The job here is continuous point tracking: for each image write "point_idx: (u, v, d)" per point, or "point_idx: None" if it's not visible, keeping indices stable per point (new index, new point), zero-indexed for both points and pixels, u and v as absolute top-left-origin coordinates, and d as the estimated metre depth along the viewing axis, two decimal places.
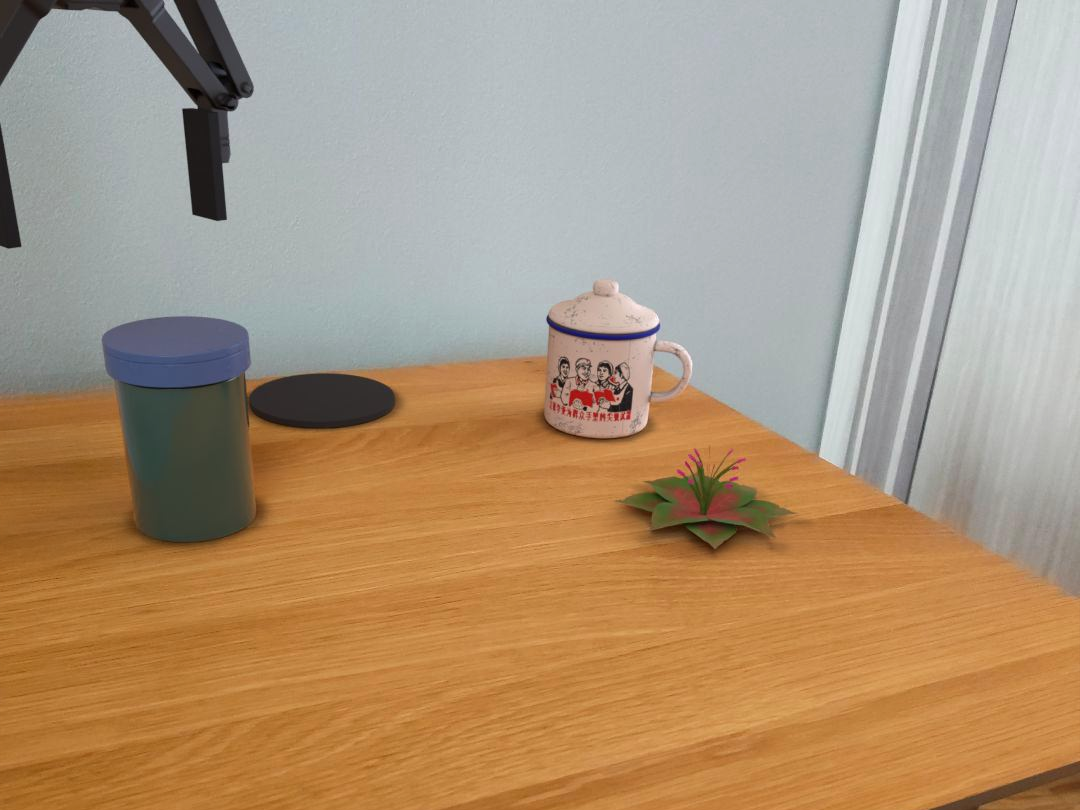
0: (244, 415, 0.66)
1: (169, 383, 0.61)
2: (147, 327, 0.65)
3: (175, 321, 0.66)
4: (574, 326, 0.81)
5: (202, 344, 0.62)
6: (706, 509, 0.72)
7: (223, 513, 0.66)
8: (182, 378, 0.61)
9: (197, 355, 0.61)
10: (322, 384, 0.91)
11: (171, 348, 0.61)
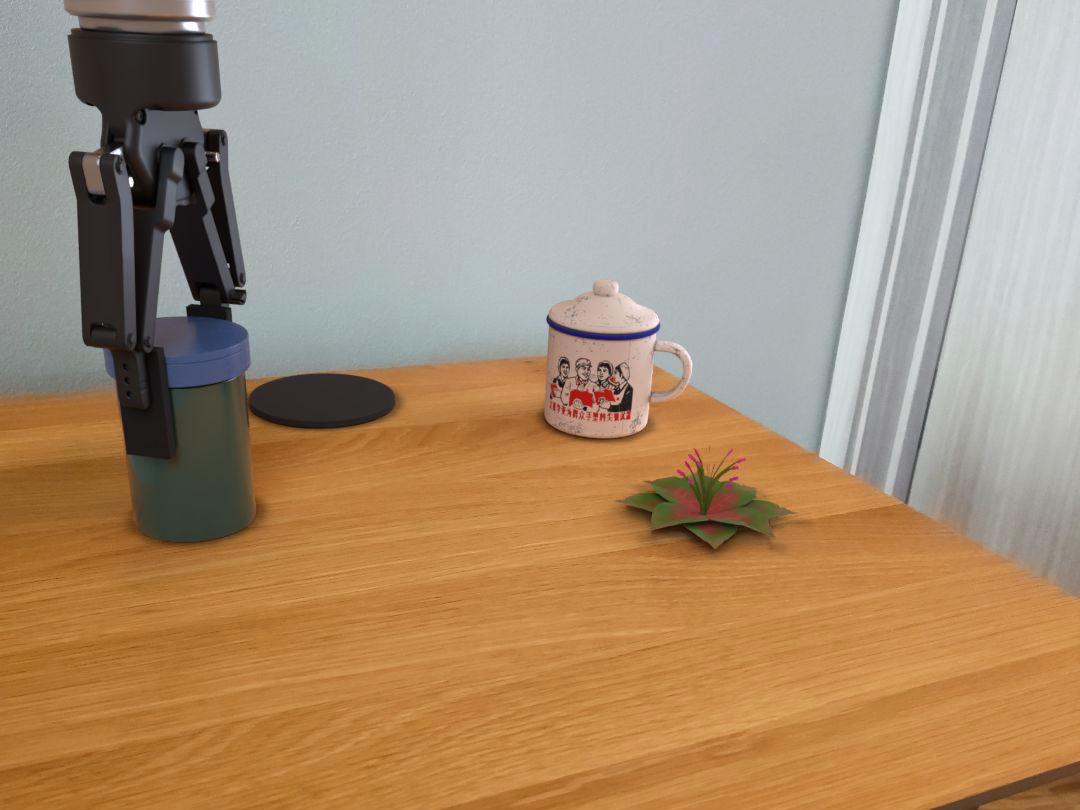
0: (244, 415, 0.66)
1: (169, 383, 0.61)
2: None
3: (175, 321, 0.66)
4: (574, 326, 0.81)
5: (202, 344, 0.62)
6: (706, 509, 0.72)
7: (223, 513, 0.66)
8: (182, 378, 0.61)
9: (197, 355, 0.61)
10: (322, 384, 0.91)
11: (171, 348, 0.61)
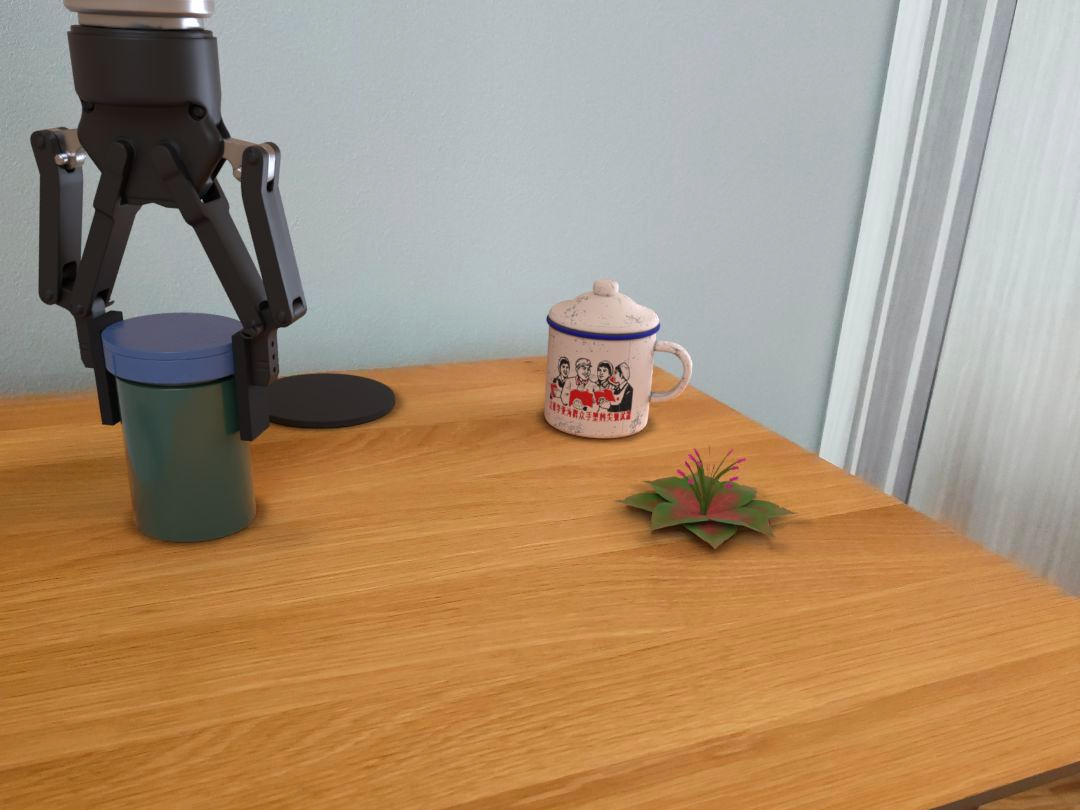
0: None
1: None
2: (141, 340, 0.62)
3: (123, 332, 0.63)
4: (574, 326, 0.81)
5: (211, 323, 0.65)
6: (706, 509, 0.72)
7: (223, 513, 0.66)
8: None
9: None
10: (322, 384, 0.91)
11: (223, 330, 0.64)
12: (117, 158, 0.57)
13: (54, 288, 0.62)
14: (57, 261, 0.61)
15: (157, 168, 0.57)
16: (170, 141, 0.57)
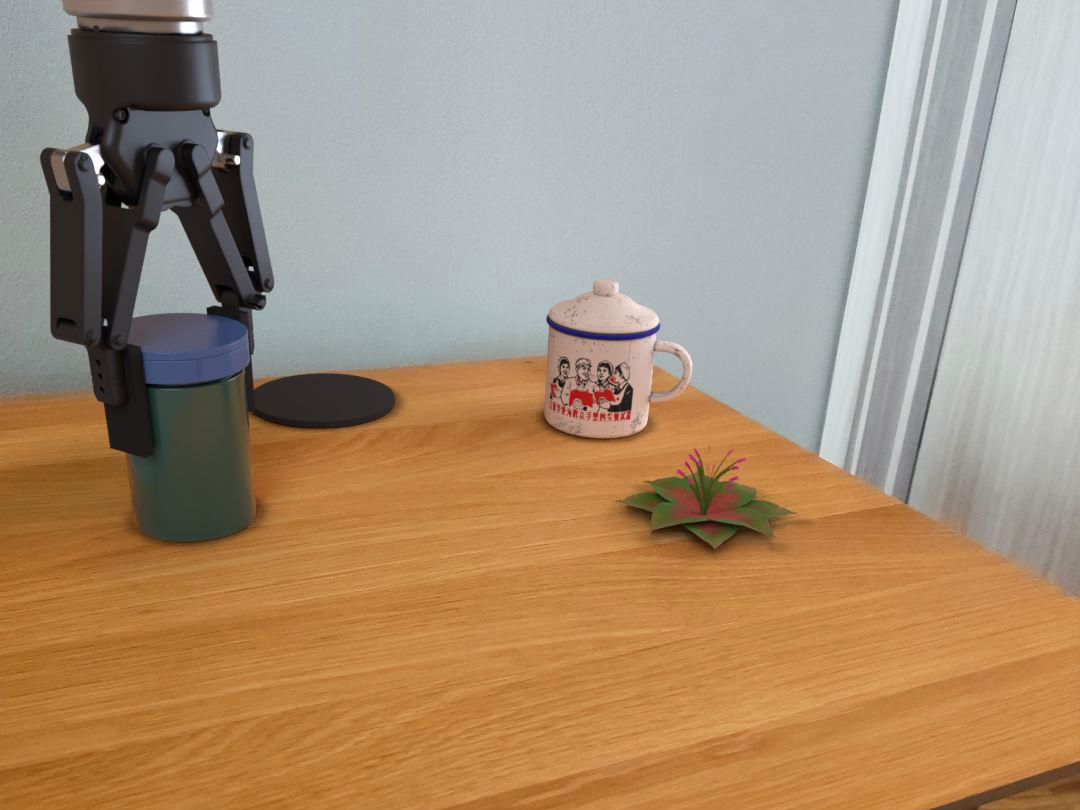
0: (244, 415, 0.66)
1: None
2: (194, 342, 0.62)
3: (160, 345, 0.61)
4: (574, 326, 0.81)
5: (162, 320, 0.65)
6: (706, 509, 0.72)
7: (223, 513, 0.66)
8: None
9: (177, 313, 0.67)
10: (322, 384, 0.91)
11: (193, 319, 0.66)
12: (167, 165, 0.57)
13: (98, 325, 0.57)
14: (100, 294, 0.56)
15: (197, 167, 0.59)
16: (191, 140, 0.59)
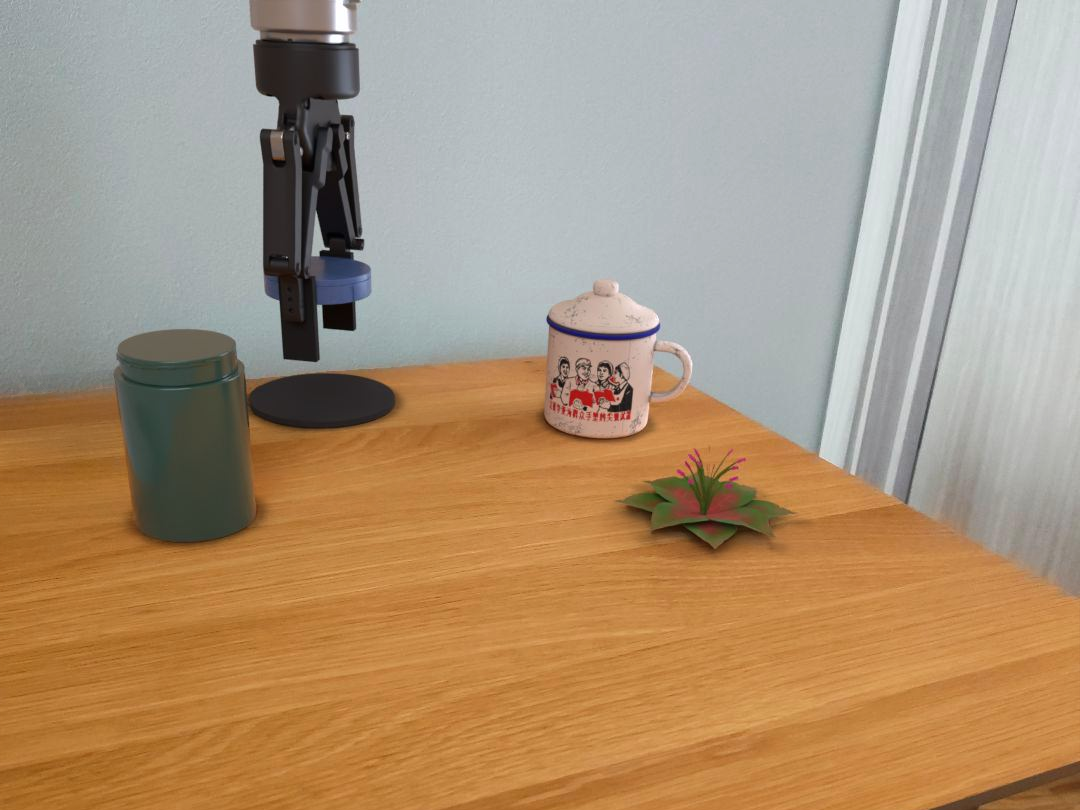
0: (244, 415, 0.66)
1: None
2: (341, 272, 0.83)
3: (322, 276, 0.82)
4: (574, 326, 0.81)
5: None
6: (706, 509, 0.72)
7: (223, 513, 0.66)
8: None
9: None
10: (322, 384, 0.91)
11: (317, 259, 0.86)
12: (330, 139, 0.78)
13: (300, 259, 0.77)
14: (300, 235, 0.77)
15: (340, 141, 0.80)
16: (332, 121, 0.80)
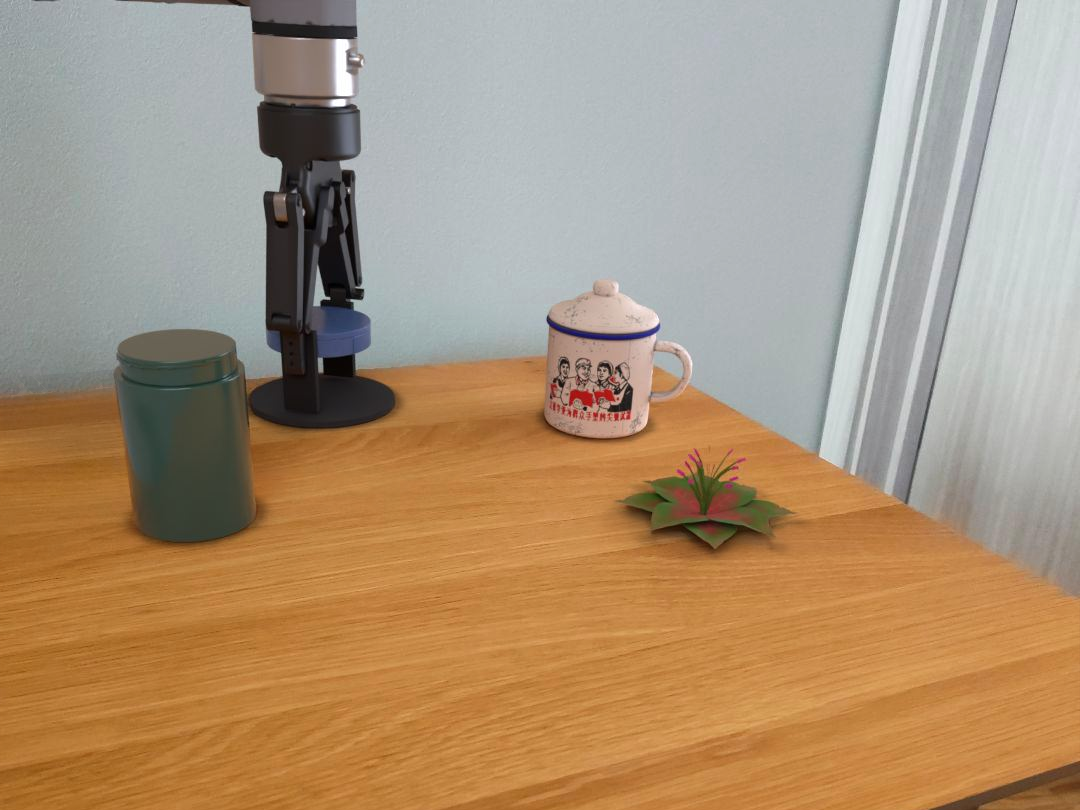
0: (244, 415, 0.66)
1: None
2: (342, 325, 0.85)
3: (323, 329, 0.83)
4: (574, 326, 0.81)
5: None
6: (706, 509, 0.72)
7: (223, 513, 0.66)
8: None
9: None
10: (322, 384, 0.91)
11: (317, 310, 0.88)
12: (331, 198, 0.80)
13: (301, 316, 0.79)
14: (302, 293, 0.79)
15: (341, 198, 0.82)
16: (333, 179, 0.82)
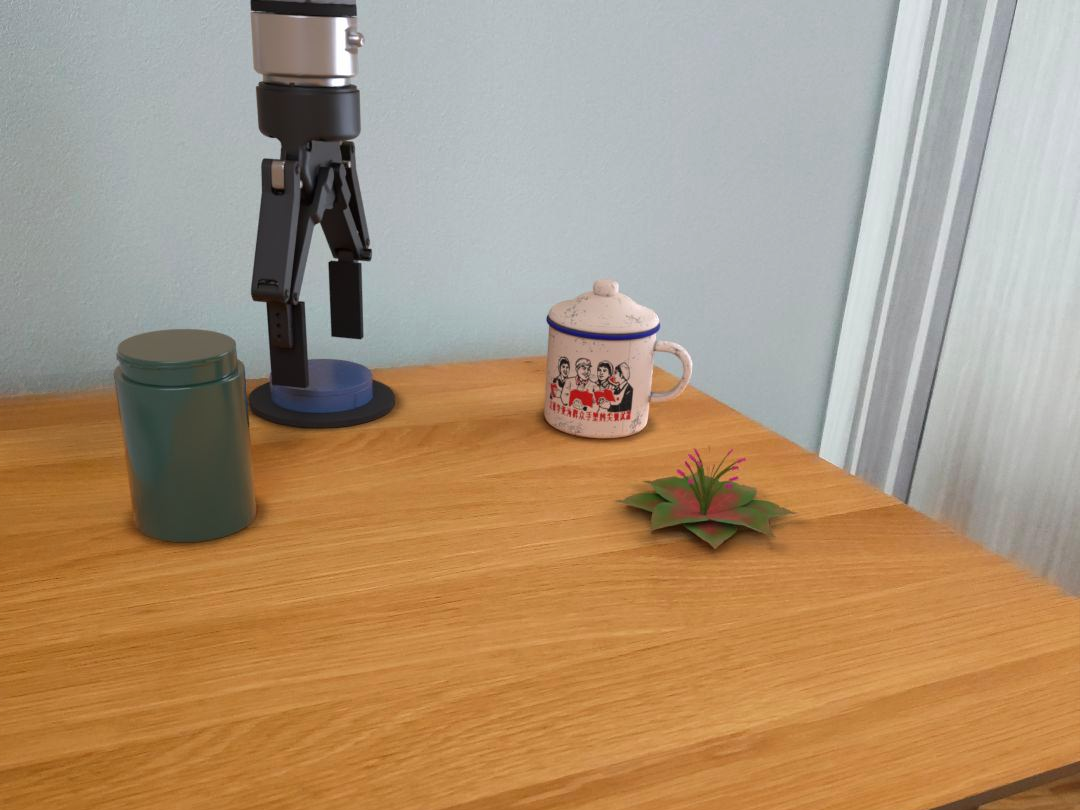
0: (244, 415, 0.66)
1: None
2: (344, 380, 0.87)
3: (326, 385, 0.85)
4: (574, 326, 0.81)
5: None
6: (706, 509, 0.72)
7: (223, 513, 0.66)
8: None
9: None
10: None
11: (320, 363, 0.90)
12: (331, 179, 0.79)
13: (289, 287, 0.76)
14: (292, 264, 0.76)
15: (342, 180, 0.82)
16: (333, 160, 0.82)
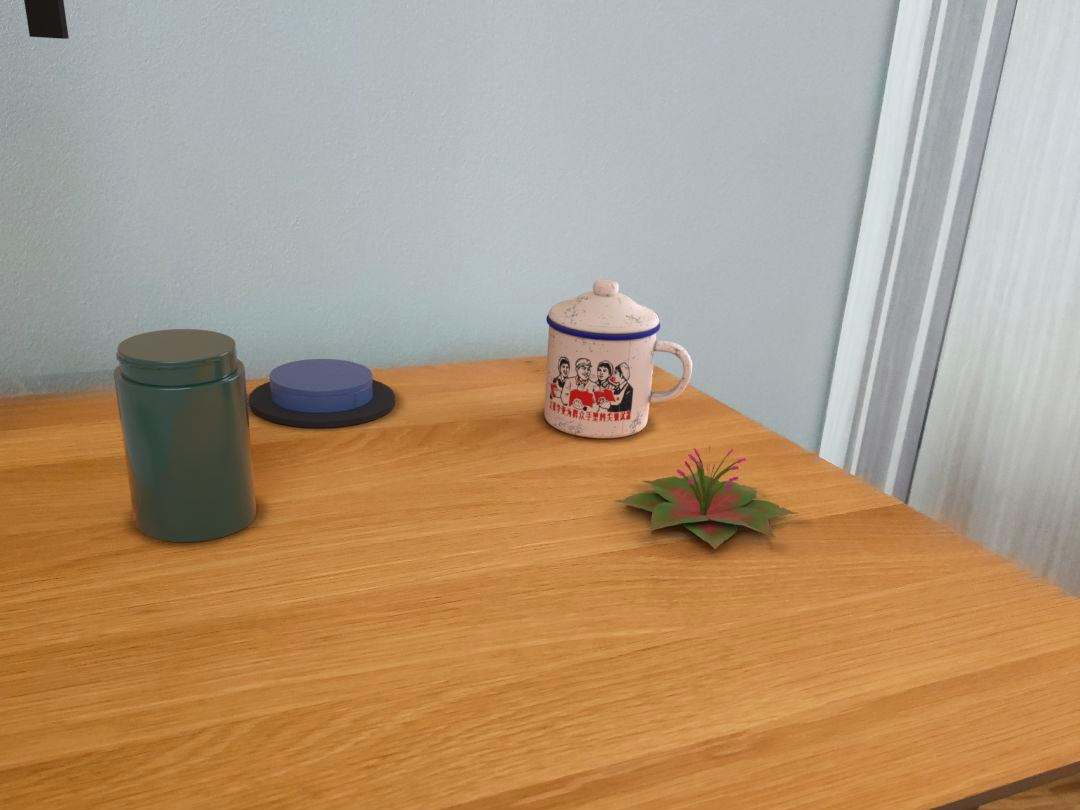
0: (244, 415, 0.66)
1: None
2: (344, 380, 0.87)
3: (326, 385, 0.85)
4: (574, 326, 0.81)
5: (300, 367, 0.89)
6: (706, 509, 0.72)
7: (223, 513, 0.66)
8: None
9: (302, 360, 0.91)
10: None
11: (320, 363, 0.90)
12: None
13: None
14: None
15: None
16: None
